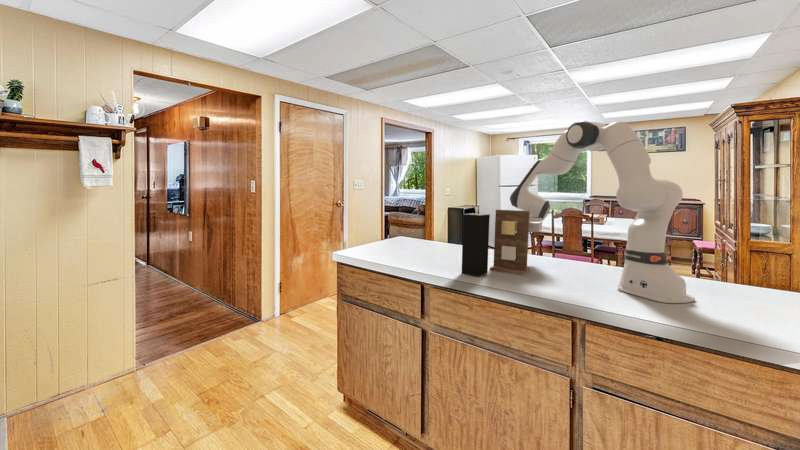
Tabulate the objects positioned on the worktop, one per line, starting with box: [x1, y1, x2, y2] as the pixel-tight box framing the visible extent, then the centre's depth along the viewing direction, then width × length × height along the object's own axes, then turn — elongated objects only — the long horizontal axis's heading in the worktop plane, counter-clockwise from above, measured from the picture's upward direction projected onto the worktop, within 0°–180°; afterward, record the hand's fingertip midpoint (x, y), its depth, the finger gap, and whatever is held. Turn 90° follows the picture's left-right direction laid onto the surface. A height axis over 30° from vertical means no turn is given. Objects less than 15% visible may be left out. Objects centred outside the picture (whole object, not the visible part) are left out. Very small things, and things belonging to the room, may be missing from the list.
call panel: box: [489, 208, 530, 276], centre depth 154 cm, size 10×14×26 cm
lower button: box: [501, 246, 516, 261], centre depth 155 cm, size 7×6×6 cm
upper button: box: [501, 220, 517, 235], centre depth 153 cm, size 7×6×6 cm
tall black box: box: [461, 206, 491, 277], centre depth 148 cm, size 8×8×28 cm
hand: (513, 226), depth 155 cm, fingers closed, pressing on upper button
